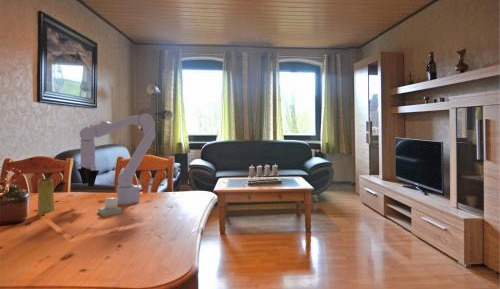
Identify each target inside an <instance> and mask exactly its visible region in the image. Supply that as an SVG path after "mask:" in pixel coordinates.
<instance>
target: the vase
mask: <svg viewBox="0 0 500 289" xmlns="http://www.w3.org/2000/svg"><path fill="white" fill-rule="evenodd" d="M37 194H38V196H37V214H36V215H37V216H41V217H42V216H43V217H44V216H46V215H45V214H44V213H50V212H53V211H55V201H54V200H55V198H54V180H53V179H52V178H42V179H38V180H37Z"/></svg>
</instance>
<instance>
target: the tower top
mask: <svg viewBox="0 0 500 289" xmlns="http://www.w3.org/2000/svg"><path fill="white" fill-rule="evenodd" d="M97 212H98V213H99V214H100V215H101V216H102V217H109V216H113V215H120V214H121V215H122V214H123V209H122V207H120V206H118V208H116V209H105V206H102V207H98V210H97Z"/></svg>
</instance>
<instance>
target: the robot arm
mask: <svg viewBox="0 0 500 289" xmlns="http://www.w3.org/2000/svg"><path fill="white" fill-rule="evenodd" d="M155 122H156V121H155V120H154V118H153V116H152V115H151V114H150V113H142V114H135V115H134V114H133V115H130V116H127V117H125V118H121V119H119V120H115V121H113V122H110V121H108V120H102V121H100V122H99V123H96V124H90V125H89V127H88V126H86V127H83V128H81V130H80V131H79V136H80V164H77V167H79V168H76V170H77V172H78V174H79V176H80V179H81V183H82V185H87V186H88V187H95V183H96V179H97V176H98V174H99V172H100V170H98V169H97V165H96V144H95V138H102V137H103V136H107V135H111V134H112V133H113V131H114V130H115V129H119V128H122V127H125V126H129V125H136V126H137V125H139V126H140V127H141V128H142V131H143V135H144V136H143V137H142V138H141V140H140V142H139V144H138V145H137V148H136V149H135V151H134V153H133V154H132V156H131V158H130V159H129V161H128V163H127V164H126V166H125V168H124V169H122V171H120V172H119V174H118V175H117V183H118V184H117V185H116V197H117V200H118V205H131V204H135V203H140V193H141V192H140V186H138V185H135V184H134V183H133V180H134V179H133V178H134V176H135V175H136V174H135V173H136V171H137V169H138V168H139V166H140V165H141V162H142V161H143V160H144V157H145V155H146V154H147V152H148V150H149V149H150V147H151V145H152V144H153V142H154V140H155V138H156V123H155Z"/></svg>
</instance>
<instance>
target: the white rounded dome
mask: <svg viewBox="0 0 500 289" xmlns="http://www.w3.org/2000/svg"><path fill="white" fill-rule="evenodd" d="M104 207H105V209H116V208H118V207H119V204H118V200H117V196H110V197H105V198H104Z"/></svg>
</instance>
